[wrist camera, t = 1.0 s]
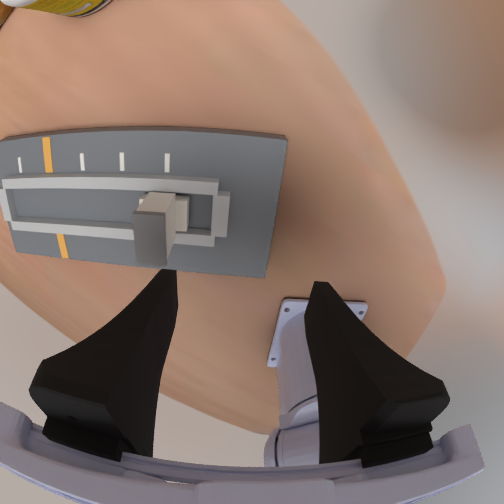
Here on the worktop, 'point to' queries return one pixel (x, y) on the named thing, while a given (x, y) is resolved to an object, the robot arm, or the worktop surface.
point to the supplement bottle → (60, 6)
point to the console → (144, 181)
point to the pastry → (4, 12)
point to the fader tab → (158, 226)
